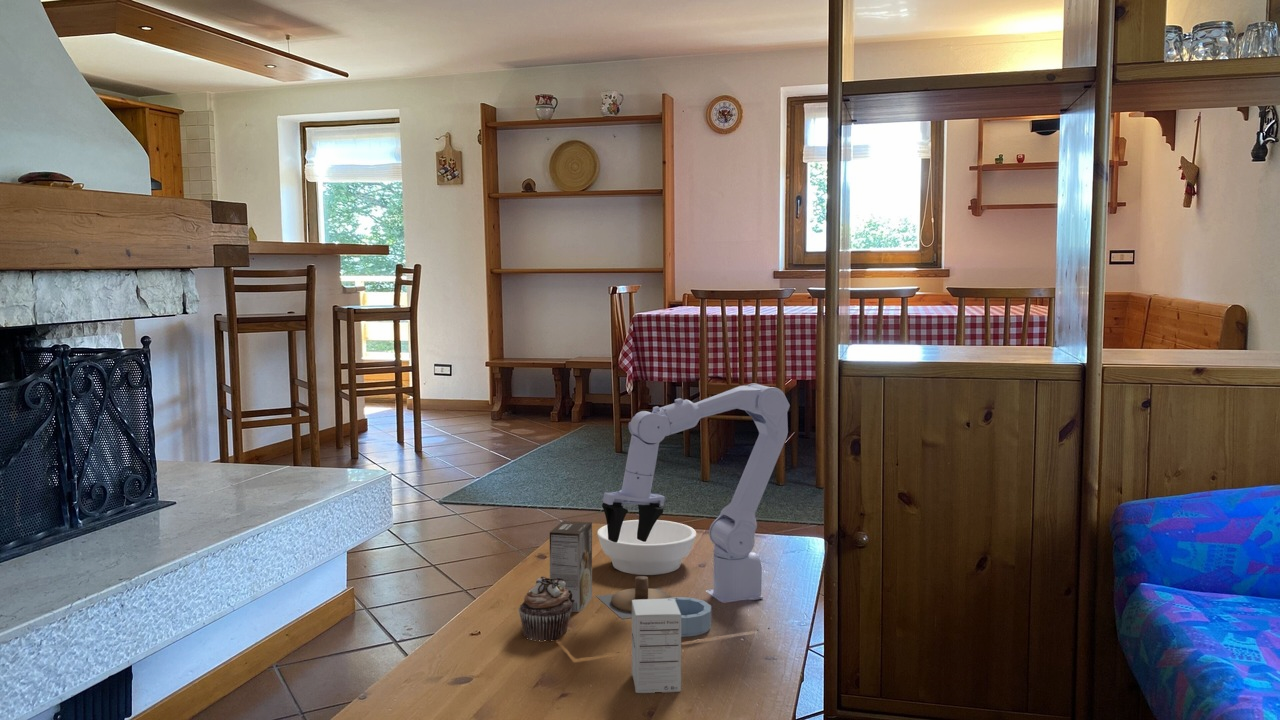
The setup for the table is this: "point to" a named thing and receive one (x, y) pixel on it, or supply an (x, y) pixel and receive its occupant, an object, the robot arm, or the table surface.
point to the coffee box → (573, 560)
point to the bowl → (648, 547)
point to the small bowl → (693, 616)
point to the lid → (636, 594)
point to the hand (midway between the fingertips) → (627, 540)
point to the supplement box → (656, 645)
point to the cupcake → (546, 610)
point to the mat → (607, 601)
